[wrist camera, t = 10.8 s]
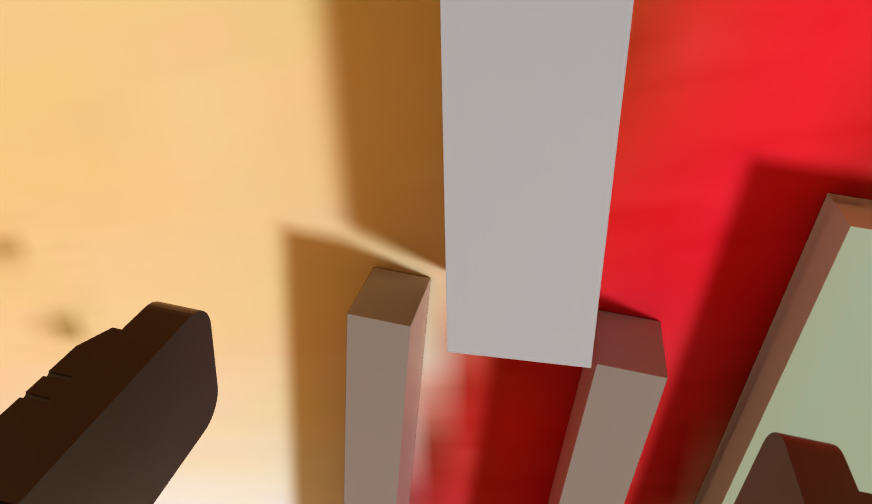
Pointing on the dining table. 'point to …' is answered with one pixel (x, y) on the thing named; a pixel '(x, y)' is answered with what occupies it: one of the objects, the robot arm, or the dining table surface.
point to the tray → (811, 357)
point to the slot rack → (400, 388)
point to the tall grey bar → (529, 171)
